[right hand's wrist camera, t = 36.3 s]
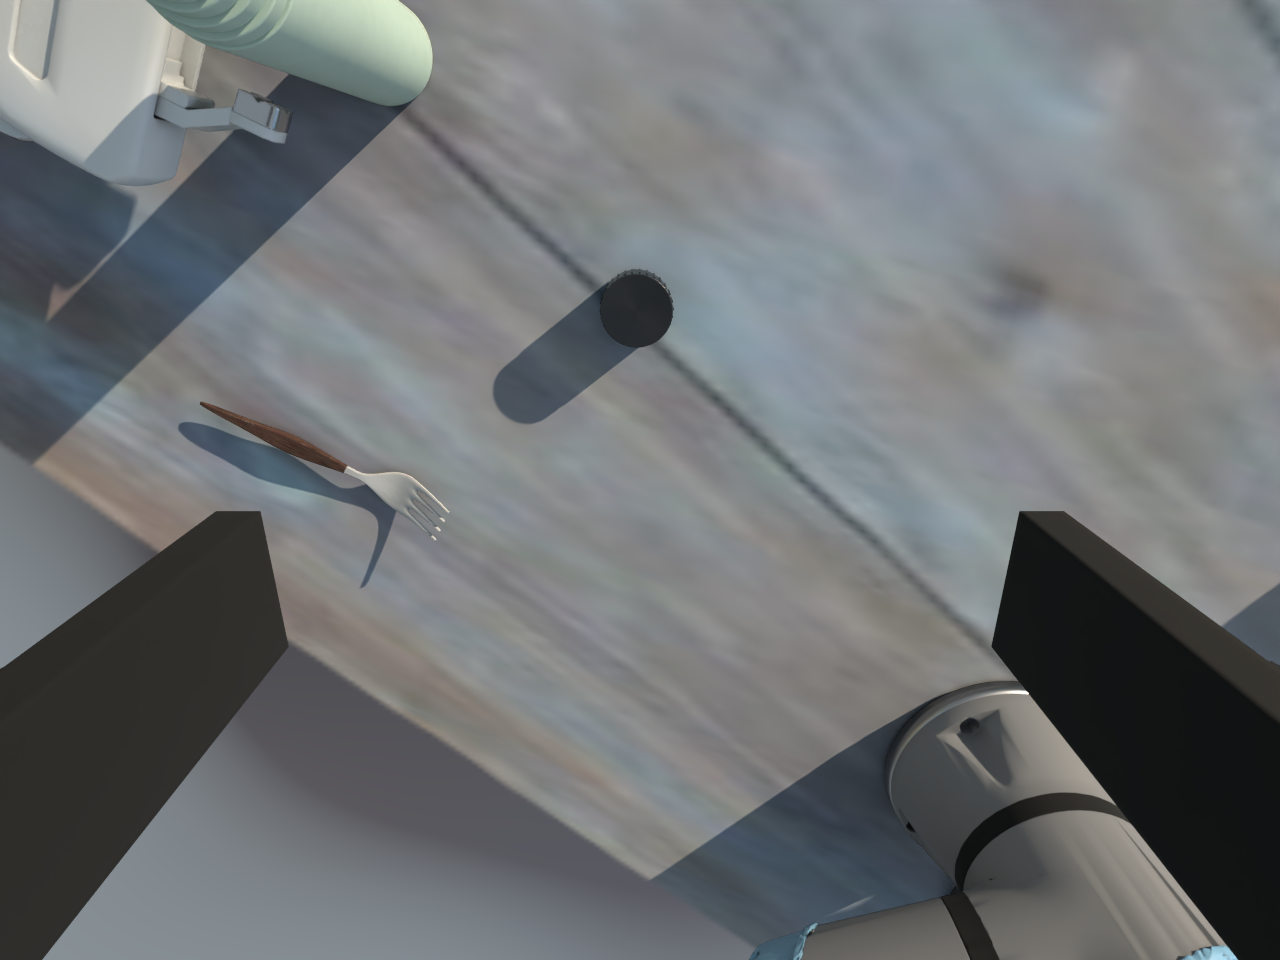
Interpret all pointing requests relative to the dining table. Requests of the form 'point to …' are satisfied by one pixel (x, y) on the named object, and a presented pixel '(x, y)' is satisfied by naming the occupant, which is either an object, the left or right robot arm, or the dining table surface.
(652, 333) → the cap
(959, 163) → the dining table surface
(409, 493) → the fork
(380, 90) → the bottle
